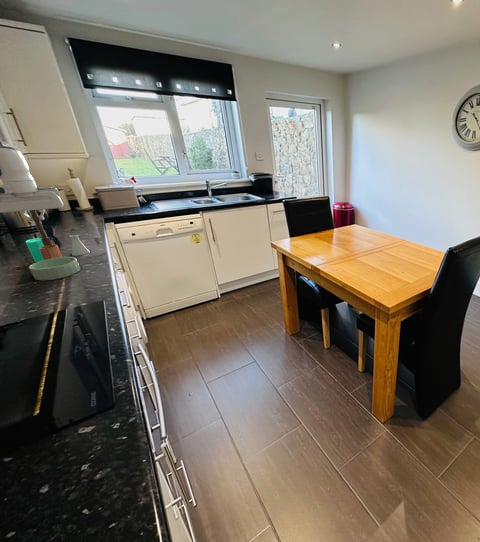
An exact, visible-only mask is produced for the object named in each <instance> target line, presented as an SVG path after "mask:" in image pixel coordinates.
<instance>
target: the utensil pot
mask: <svg viewBox="0 0 480 542" xmlns="http://www.w3.org/2000/svg"><path fill="white" fill-rule="evenodd" d="M39 249H40V252H41V254H42V256H43V258H44V260H47V259H52V258H58V257H63V254H62V252H61V250H60V247H59V246H58V244H52V245H47V246H42V247H39Z"/></svg>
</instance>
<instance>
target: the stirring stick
mask: <svg viewBox="0 0 480 542" xmlns="http://www.w3.org/2000/svg"><path fill="white" fill-rule="evenodd" d="M28 211H29V213H30V216H32V218H33V220H34V221H33V222H34V224H35V227H36V229H37V231H38V233H39V236H40V238H42V239H41V241H42V243H43V245H44V246H47V245H53V243H52V241H51V239H50V237H48V235H47V233H46V230H45V228H44V226H43V224H42V221H41V220H39V218H38V217H37V216H39V215H38V213H37V210H28Z"/></svg>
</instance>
